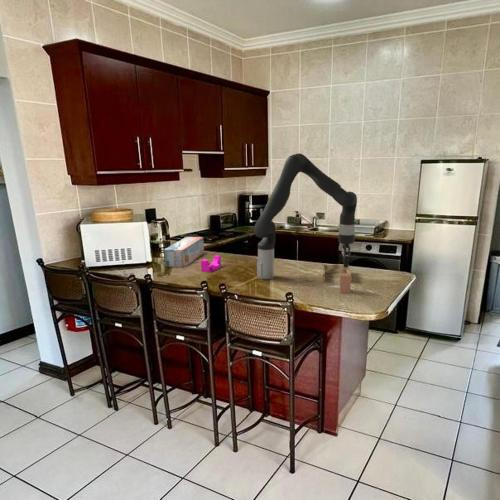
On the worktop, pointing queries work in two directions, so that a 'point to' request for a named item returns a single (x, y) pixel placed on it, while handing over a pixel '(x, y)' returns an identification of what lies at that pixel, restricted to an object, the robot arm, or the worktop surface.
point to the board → (338, 286)
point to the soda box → (184, 252)
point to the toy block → (213, 266)
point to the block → (345, 282)
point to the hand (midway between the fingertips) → (345, 264)
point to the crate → (334, 269)
